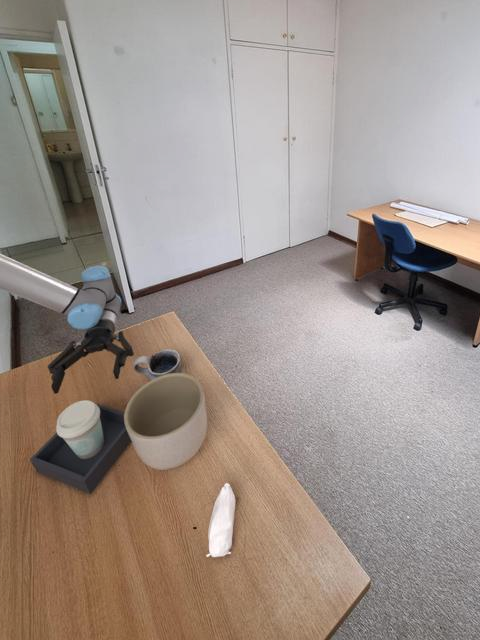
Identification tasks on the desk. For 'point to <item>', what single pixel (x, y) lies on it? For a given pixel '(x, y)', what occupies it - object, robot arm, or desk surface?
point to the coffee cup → (81, 428)
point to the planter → (167, 420)
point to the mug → (159, 364)
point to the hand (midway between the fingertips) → (85, 382)
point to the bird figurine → (222, 523)
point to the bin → (84, 472)
